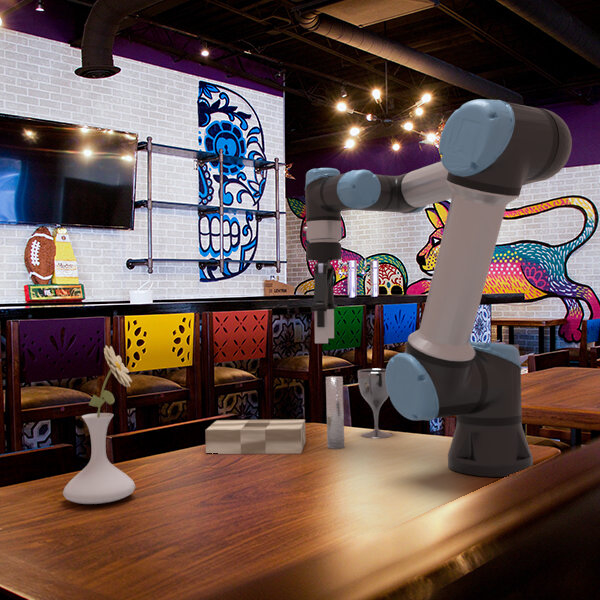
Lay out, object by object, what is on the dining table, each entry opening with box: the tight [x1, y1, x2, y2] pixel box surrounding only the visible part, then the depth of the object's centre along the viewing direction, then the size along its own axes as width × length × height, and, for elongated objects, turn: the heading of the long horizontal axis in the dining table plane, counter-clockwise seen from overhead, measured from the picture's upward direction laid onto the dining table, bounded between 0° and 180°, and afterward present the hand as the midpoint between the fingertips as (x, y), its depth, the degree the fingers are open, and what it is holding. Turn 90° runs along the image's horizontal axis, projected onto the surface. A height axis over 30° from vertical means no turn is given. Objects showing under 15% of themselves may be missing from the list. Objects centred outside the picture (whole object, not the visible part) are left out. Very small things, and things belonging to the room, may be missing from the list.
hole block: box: [204, 418, 306, 455], centre depth 154 cm, size 12×20×5 cm, turn 85°
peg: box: [325, 375, 345, 450], centre depth 152 cm, size 4×4×15 cm
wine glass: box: [357, 368, 393, 439], centre depth 165 cm, size 8×8×15 cm
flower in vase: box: [62, 345, 136, 505], centre depth 117 cm, size 13×11×25 cm
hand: (324, 340), depth 153 cm, fingers open, 13 cm apart
